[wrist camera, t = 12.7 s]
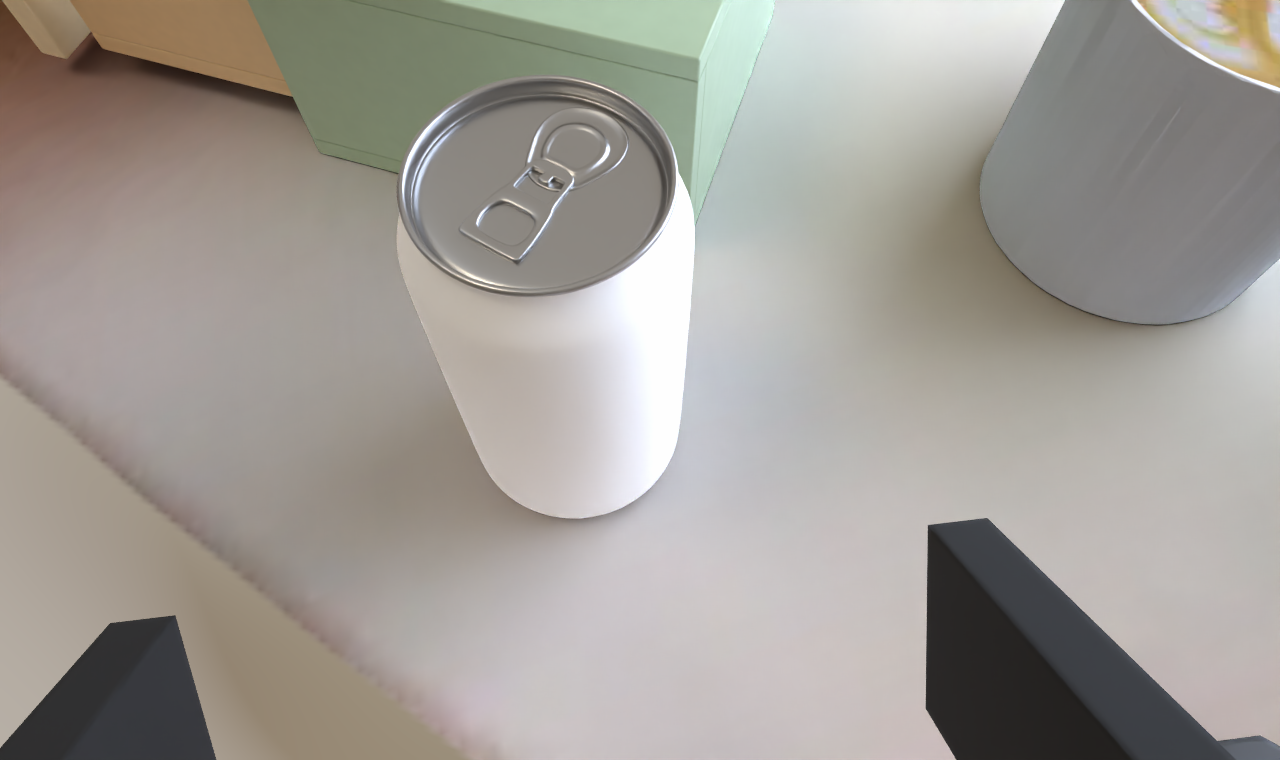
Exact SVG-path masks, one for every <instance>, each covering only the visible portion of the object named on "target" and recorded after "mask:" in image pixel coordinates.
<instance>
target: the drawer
mask: <svg viewBox="0 0 1280 760" xmlns="http://www.w3.org/2000/svg"><path fill="white" fill-rule="evenodd" d="M2 1H3V2H4V4H5V5H6V6H7V8H8V9H9V10H10V12H11V13H12V14H13V16H14V17H15V18H16V20H17V21H18V22H19V23H20V25H21V26H22V27H23V29H24V30H25V31H26V33H27V34H28V35H29V37H30V38H31V39H32V40H33V42H34V43H35V44H36V46H37V47H38V48H39V50H40V51H41V52H42V53H45V54H49V55H53V56H56V57H60V58H64V59H67V58H68V57H69V56H70V55H71V54H72V53H73V52H74V51H75V49H76V48H77V47H78V46H79V45H80V44H81V43H82V41H83V40H84V39H85V38H86V37H87V36H88V35H89V33H90V32H92V34H93V36H94V37H95V38H96V40H97V41H98V43H99V44H100V46H101V47H102V48H103V49H106V50H110V51H114V52H118V53H121V54H125V55H129V56H133V57H137V58H141V59H145V60H149V61H153V62H157V63H161V64H165V65H169V66H173V67H177V68H181V69H185V70H189V71H192V72H196V73H200V74H204V75H208V76H212V77H216V78H220V79H224V80H228V81H232V82H236V83H240V84H244V85H248V86H252V87H256V88H260V89H263V90H267V91H271V92H275V93H279V94H283V95H287V96H291V97H293V96H292V94H291V92H290V90H289V88H288V85H287V83H286V81H285V79H284V77H283V75H282V73H281V71H280V68H279V66H278V64H277V62H276V60H275V58H274V56H273V54H272V52H271V49H270V47H269V45H268V43H267V41H266V39H265V37H264V35H263V32H262V30H261V28H260V26H259V24H258V22H257V20H256V18H255V16H254V13H253V11H252V9H251V7H250V5H249V3H248V1H247V0H2Z"/></svg>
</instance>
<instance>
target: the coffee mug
mask: <svg viewBox="0 0 1280 760" xmlns="http://www.w3.org/2000/svg"><path fill="white" fill-rule="evenodd" d="M980 201H981V205H982V210H983V214H984V217H985V220H986V223H987V225H988V228H989V230H990V232H991V234H992V236H993V238H994V239H995V241H996V243H997V244H998V245H999V247H1000V248H1001V249H1002V251H1003V252H1004V253H1005V254H1006V256H1007V257H1008V258H1009V260H1010V261H1011V262H1012V263H1013V264H1014V265H1015V266H1016V267H1017V268H1018V269H1019V270H1020V271H1021V272H1022V273H1023V274H1025V275H1026V276H1027V277H1028V278H1029V279H1030V280H1031V281H1032V282H1034V283H1035V284H1036V285H1037V286H1039V287H1040V288H1042V289H1043V290H1045V291H1046V292H1048V293H1049V294H1051V295H1053V296H1055V297H1057V298H1058V299H1060V300H1062V301H1064V302H1066V303H1067V304H1069V305H1072V306H1074V307H1076V308H1079V309H1081V310H1083V311H1086V312H1089V313H1092V314H1095V315H1098V316H1102V317H1105V318H1109V319H1112V320H1117V321H1123V322H1129V323H1138V324H1172V323H1178V322H1184V321H1190V320H1194V319H1197V318H1201V317H1204V316H1207V315H1209V314H1212V313H1214V312H1216V311H1218V310H1220V309H1222V308H1223V307H1225V306H1226V305H1228V304H1229V303H1231V302H1232V301H1233V300H1235V299H1236V298H1237V297H1238V296H1239V295H1240V294H1241V293H1243V292H1244V291H1245V290H1246V289H1247V288H1248V287H1249V286H1250V285H1251V284H1252V283H1253V282H1255V281H1256V280H1257V279H1258V278H1259V277H1260V276H1261V275H1262V274H1263V273H1264V272H1265V271H1267V270H1268V269H1269V268H1270V267H1271V266H1272V265H1273V264H1274V263H1275V262H1276V261H1277V260H1279V259H1280V0H1065V2H1064V4H1063V6H1062V8H1061V10H1060V12H1059V14H1058V16H1057V18H1056V20H1055V22H1054V24H1053V26H1052V28H1051V30H1050V32H1049V34H1048V36H1047V38H1046V40H1045V42H1044V44H1043V46H1042V48H1041V50H1040V52H1039V54H1038V56H1037V58H1036V60H1035V62H1034V64H1033V66H1032V68H1031V70H1030V72H1029V74H1028V76H1027V78H1026V80H1025V82H1024V84H1023V86H1022V88H1021V90H1020V92H1019V94H1018V96H1017V98H1016V100H1015V102H1014V104H1013V106H1012V108H1011V110H1010V112H1009V114H1008V116H1007V118H1006V120H1005V122H1004V124H1003V126H1002V128H1001V130H1000V132H999V134H998V136H997V138H996V140H995V142H994V144H993V146H992V148H991V150H990V152H989V154H988V156H987V158H986V160H985V162H984V165H983V169H982V173H981V179H980Z"/></svg>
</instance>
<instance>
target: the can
mask: <svg viewBox="0 0 1280 760" xmlns="http://www.w3.org/2000/svg"><path fill="white" fill-rule="evenodd" d="M397 202H398V208H399V213H400V214H399V219H398V225H397V253H398V259H399V263H400V268H401V271H402V275H403V278H404V281H405V284H406V286H407V289H408V292H409V294H410V297H411V299H412V302H413V304H414V307H415V309H416V312H417V314H418V316H419V319H420V321H421V324H422V326H423V328H424V331H425V333H426V335H427V338H428V340H429V342H430V345H431V347H432V349H433V352H434V354H435V357H436V359H437V361H438V364H439V366H440V368H441V370H442V373H443V375H444V377H445V380H446V382H447V384H448V387H449V389H450V391H451V394H452V396H453V398H454V401H455V403H456V405H457V407H458V410H459V412H460V414H461V417H462V419H463V421H464V423H465V426H466V428H467V430H468V433H469V435H470V437H471V439H472V442H473V444H474V446H475V448H476V450H477V453H478V455H479V457H480V459H481V461H482V463H483V465H484V467H485V469H486V470H487V472H488V474H489V475H490V476H491V478H492V479H493V481H494V482H495V483H496V484H497V485H498V487H499V488H500V489H501V490H502V491H503V492H504V493H506V494H507V495H508V496H509V497H510V498H512V499H513V500H515V501H516V502H518V503H519V504H521V505H523V506H525V507H526V508H529V509H531V510H533V511H536V512H539V513H542V514H545V515H549V516H554V517H560V518H588V517H594V516H599V515H603V514H607V513H610V512H613V511H615V510H618V509H620V508H622V507H624V506H626V505H628V504H630V503H631V502H633V501H635V500H636V499H637V498H639V497H640V496H642V495H643V494H644V493H645V492H646V491H648V490H649V489H650V488H651V487H652V486H653V485H654V484H655V482H656V481H657V480H658V479H659V478H660V476H661V475H662V474H663V472H664V471H665V469H666V467H667V466H668V464H669V462H670V460H671V458H672V455H673V453H674V450H675V447H676V443H677V439H678V433H679V427H680V418H681V408H682V397H683V386H684V375H685V364H686V352H687V340H688V328H689V316H690V304H691V291H692V278H693V263H694V242H695V228H694V217H693V209H692V205H691V201H690V197H689V195H688V192H687V189H686V187H685V185H684V183H683V181H682V179H681V177H680V175H679V173H678V164H677V160H676V156H675V153H674V150H673V147H672V145H671V142H670V140H669V138H668V136H667V135H666V133H665V131H664V130H663V128H662V127H661V126H660V124H659V123H658V122H657V121H656V119H655V118H654V117H653V116H652V115H651V114H650V113H649V112H648V111H647V110H646V109H645V108H643V107H642V106H641V105H640V104H638V103H637V102H636V101H634V100H633V99H631V98H630V97H628V96H626V95H625V94H623V93H621V92H619V91H617V90H615V89H613V88H610V87H608V86H606V85H603V84H600V83H597V82H594V81H590V80H586V79H582V78H577V77H571V76H562V75H529V76H521V77H514V78H509V79H504V80H500V81H497V82H493V83H490V84H487V85H484V86H482V87H479V88H477V89H474V90H472V91H470V92H468V93H466V94H464V95H462V96H460V97H459V98H457V99H455V100H454V101H452V102H451V103H449V104H448V105H446V106H445V107H443V108H442V109H441V110H440V111H438V112H437V113H436V114H435V115H434V116H433V117H432V118H430V119H429V120H428V121H427V123H426V124H425V125H424V126H423V127H422V128H421V129H420V131H419V132H418V133H417V134H416V136H415V137H414V139H413V140H412V142H411V144H410V145H409V147H408V149H407V151H406V153H405V156H404V158H403V161H402V163H401V167H400V170H399V175H398V182H397Z"/></svg>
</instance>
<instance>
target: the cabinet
mask: <svg viewBox="0 0 1280 760" xmlns="http://www.w3.org/2000/svg"><path fill="white" fill-rule="evenodd" d="M247 1H248V3H249V5H250V7H251V9H252V11H253V13H254V16H255V18H256V20H257V22H258V24H259V26H260V28H261V30H262V32H263V35H264V37H265V39H266V41H267V43H268V45H269V47H270V49H271V52H272V54H273V56H274V58H275V60H276V62H277V64H278V66H279V68H280V71H281V73H282V75H283V77H284V79H285V81H286V83H287V85H288V88H289V90H290V92H291V94H292V96H293V98H294V100H295V102H296V104H297V107H298V109H299V111H300V113H301V115H302V117H303V119H304V121H305V124H306V126H307V128H308V130H309V132H310V134H311V136H312V138H313V140H314V142H315V144H316V146H317V149H318V151H319V152H320V153H323V154H327V155H331V156H335V157H338V158H342V159H346V160H350V161H354V162H358V163H361V164H365V165H369V166H373V167H377V168H380V169H384V170H388V171H392V172H396V173H399V170H400V167H401V163H402V161H403V158H404V156H405V153H406V151H407V149H408V147H409V145H410V144H411V142H412V140H413V139H414V137H415V136H416V134H417V133H418V132H419V131H420V129H421V128H422V127H423V126H424V125H425V124H426V123H427V121H428V120H429V119H430V118H432V117H433V116H434V115H435V114H436V113H437V112H438V111H440V110H441V109H442V108H443V107H445V106H446V105H448V104H449V103H451V102H452V101H454V100H455V99H457V98H459V97H460V96H462V95H464V94H466V93H468V92H470V91H472V90H474V89H477V88H479V87H482V86H484V85H487V84H490V83H493V82H497V81H500V80H504V79H509V78H514V77H521V76H529V75H562V76H571V77H577V78H582V79H586V80H590V81H594V82H597V83H600V84H603V85H606V86H608V87H610V88H613V89H615V90H617V91H619V92H621V93H623V94H625V95H626V96H628V97H630V98H631V99H633V100H634V101H636V102H637V103H638V104H640V105H641V106H642V107H643V108H645V109H646V110H647V111H648V112H649V113H650V114H651V115H652V116H653V117H654V118H655V119H656V121H657V122H658V123H659V124H660V126H661V127H662V128H663V130H664V131H665V133H666V135H667V136H668V138H669V140H670V142H671V145H672V147H673V150H674V153H675V156H676V160H677V164H678V173H679V175H680V177H681V179H682V181H683V183H684V185H685V187H686V189H687V192H688V195H689V197H690V201H691V205H692V209H693V217H694V227H695V225H696V222H697V219H698V217H699V214H700V211H701V209H702V206H703V203H704V200H705V198H706V195H707V192H708V190H709V187H710V184H711V181H712V179H713V176H714V173H715V171H716V168H717V165H718V163H719V160H720V157H721V154H722V152H723V149H724V146H725V144H726V141H727V138H728V135H729V133H730V130H731V127H732V125H733V122H734V119H735V117H736V114H737V111H738V108H739V106H740V103H741V100H742V98H743V95H744V92H745V89H746V87H747V84H748V81H749V79H750V76H751V73H752V71H753V68H754V65H755V62H756V60H757V57H758V54H759V52H760V49H761V46H762V43H763V41H764V38H765V35H766V33H767V30H768V27H769V25H770V22H771V19H772V16H773V11H774V5H775V0H247Z"/></svg>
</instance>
